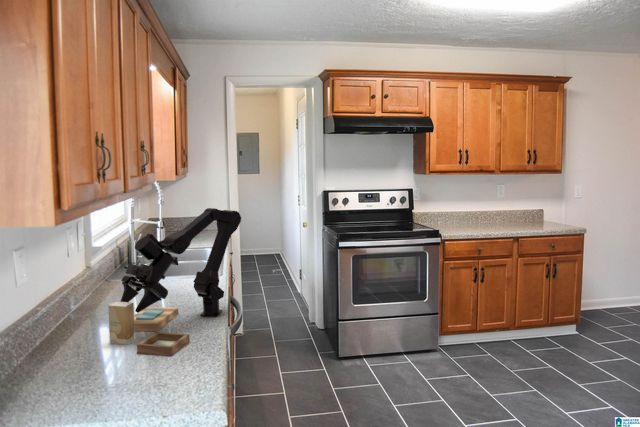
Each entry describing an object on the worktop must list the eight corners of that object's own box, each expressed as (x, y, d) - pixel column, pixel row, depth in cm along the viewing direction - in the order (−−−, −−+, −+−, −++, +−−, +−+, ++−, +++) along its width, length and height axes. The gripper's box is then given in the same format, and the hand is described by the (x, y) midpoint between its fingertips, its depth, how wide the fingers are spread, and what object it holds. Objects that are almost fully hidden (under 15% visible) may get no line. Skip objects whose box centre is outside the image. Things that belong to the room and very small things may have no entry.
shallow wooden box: (146, 313, 187) (146, 304, 186) (178, 314, 185) (178, 305, 185) (123, 330, 169) (122, 320, 169) (157, 331, 168) (157, 321, 167)
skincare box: (109, 343, 157) (106, 304, 156) (118, 338, 161) (115, 301, 160) (127, 345, 156) (125, 306, 154) (136, 340, 160) (133, 302, 158)
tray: (157, 339, 160) (156, 332, 159) (189, 342, 157) (189, 334, 157) (137, 353, 149) (136, 344, 149) (171, 355, 146) (171, 347, 146)
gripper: (125, 250, 168) (94, 290, 160) (158, 257, 156) (126, 300, 148) (147, 270, 174) (119, 309, 167) (180, 277, 163) (151, 319, 155)
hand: (128, 309), depth 159 cm, fingers open, 9 cm apart
